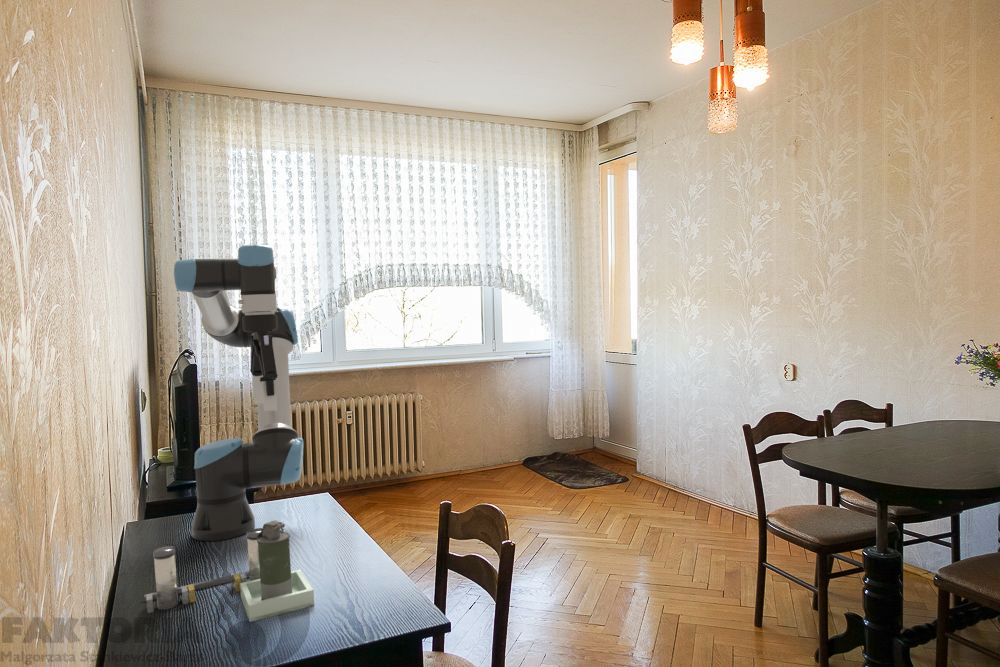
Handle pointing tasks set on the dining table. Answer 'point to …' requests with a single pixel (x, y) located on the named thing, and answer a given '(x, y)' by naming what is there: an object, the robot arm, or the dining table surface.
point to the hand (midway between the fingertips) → (265, 406)
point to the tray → (276, 598)
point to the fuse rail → (170, 591)
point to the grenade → (274, 561)
